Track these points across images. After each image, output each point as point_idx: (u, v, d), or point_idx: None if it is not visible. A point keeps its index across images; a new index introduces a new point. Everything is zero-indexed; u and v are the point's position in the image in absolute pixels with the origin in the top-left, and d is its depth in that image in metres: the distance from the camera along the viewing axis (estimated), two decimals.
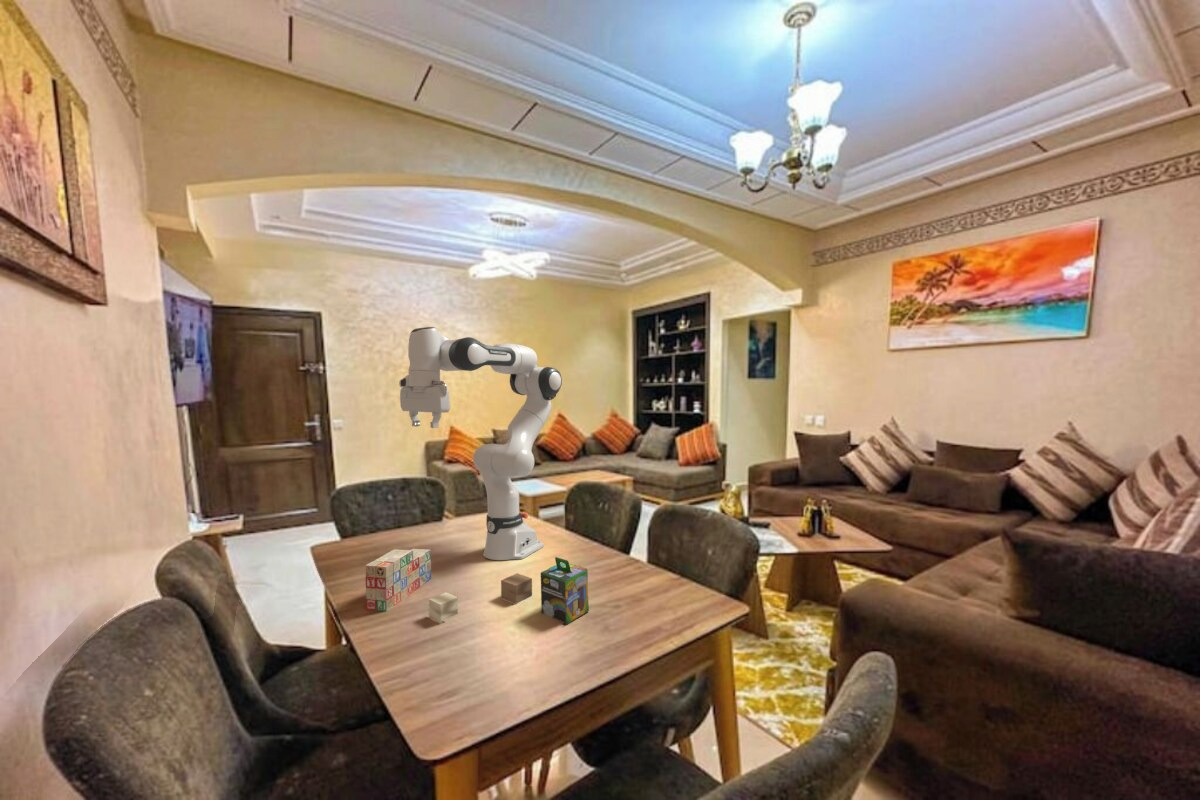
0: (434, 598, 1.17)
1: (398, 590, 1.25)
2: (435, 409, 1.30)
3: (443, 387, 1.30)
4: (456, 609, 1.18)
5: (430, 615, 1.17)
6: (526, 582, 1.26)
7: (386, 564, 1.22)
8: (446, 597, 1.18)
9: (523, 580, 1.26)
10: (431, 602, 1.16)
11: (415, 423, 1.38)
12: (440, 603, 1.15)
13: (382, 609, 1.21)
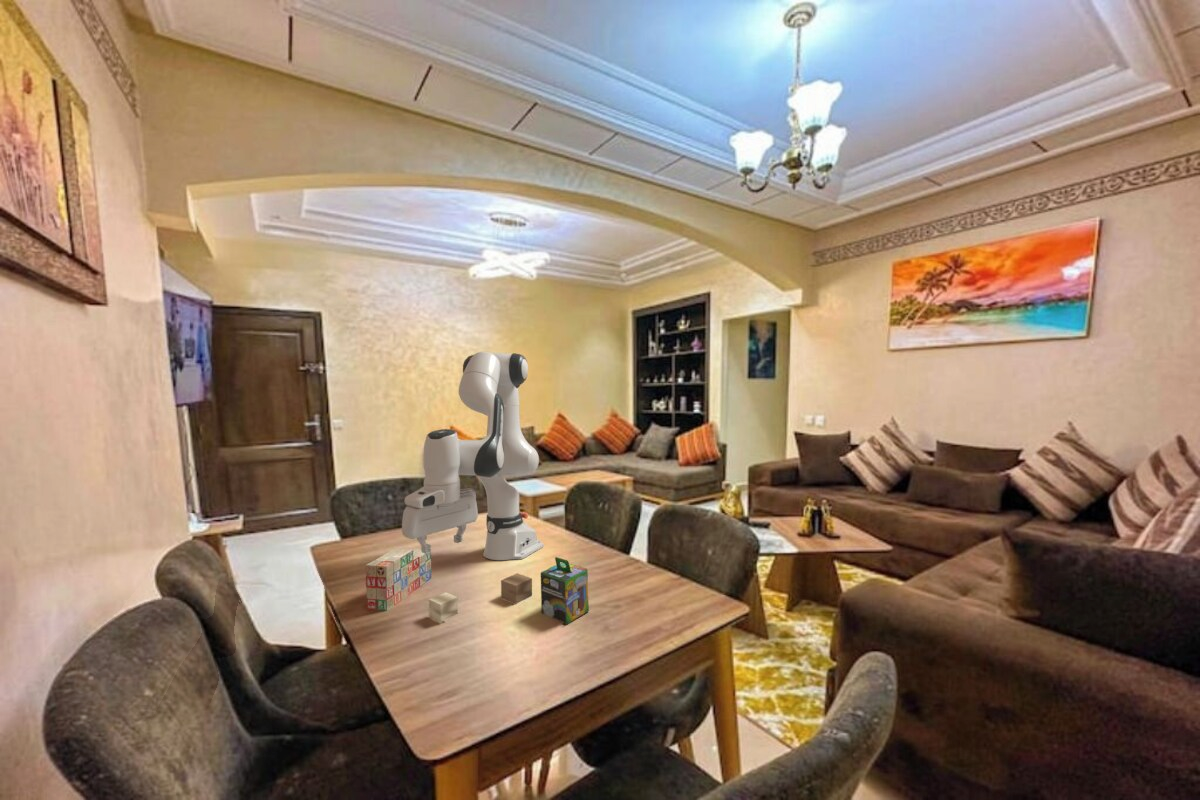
0: (433, 598, 1.17)
1: (399, 589, 1.26)
2: (472, 519, 1.22)
3: (474, 494, 1.24)
4: (456, 609, 1.18)
5: (430, 615, 1.17)
6: (526, 582, 1.26)
7: (386, 564, 1.22)
8: (446, 597, 1.18)
9: (523, 580, 1.26)
10: (431, 602, 1.16)
11: None
12: (440, 603, 1.14)
13: (382, 608, 1.21)
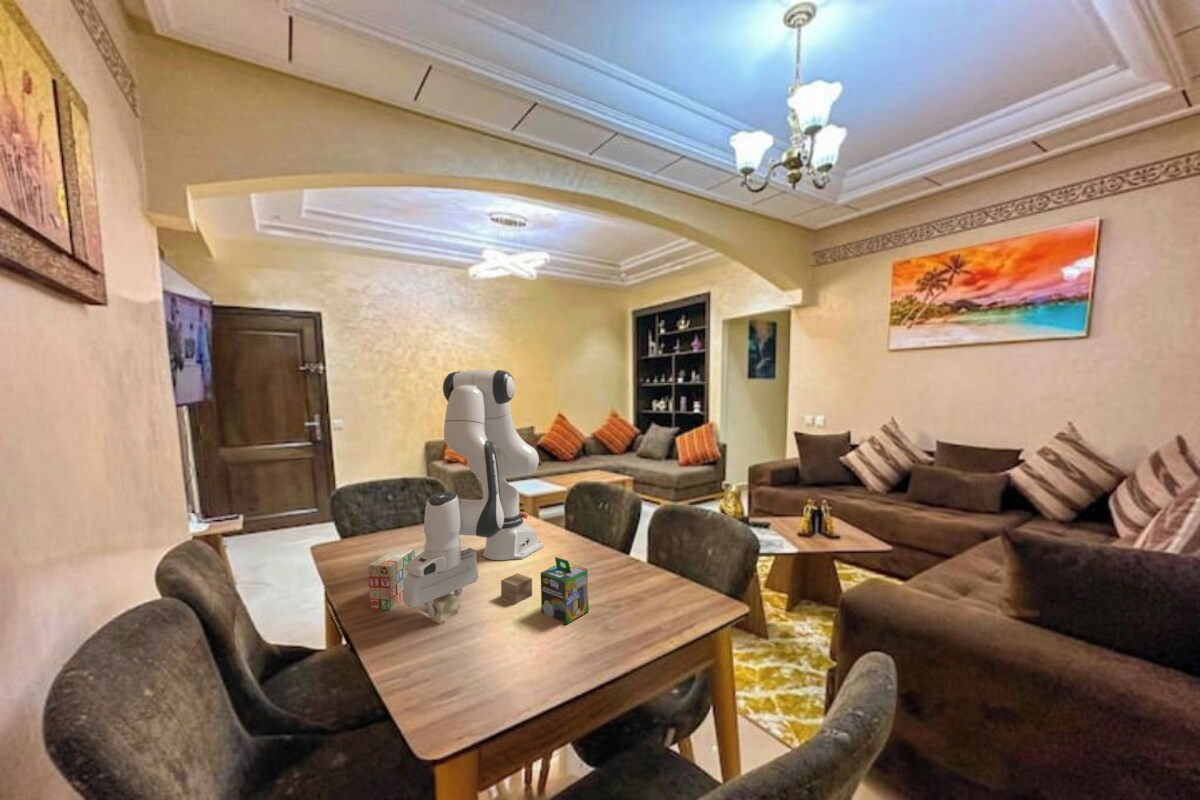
0: None
1: (401, 589, 1.26)
2: (472, 580, 1.23)
3: (474, 554, 1.25)
4: (456, 609, 1.18)
5: None
6: (526, 582, 1.26)
7: (390, 563, 1.23)
8: (446, 596, 1.18)
9: (523, 580, 1.26)
10: None
11: None
12: (440, 603, 1.14)
13: (386, 608, 1.21)
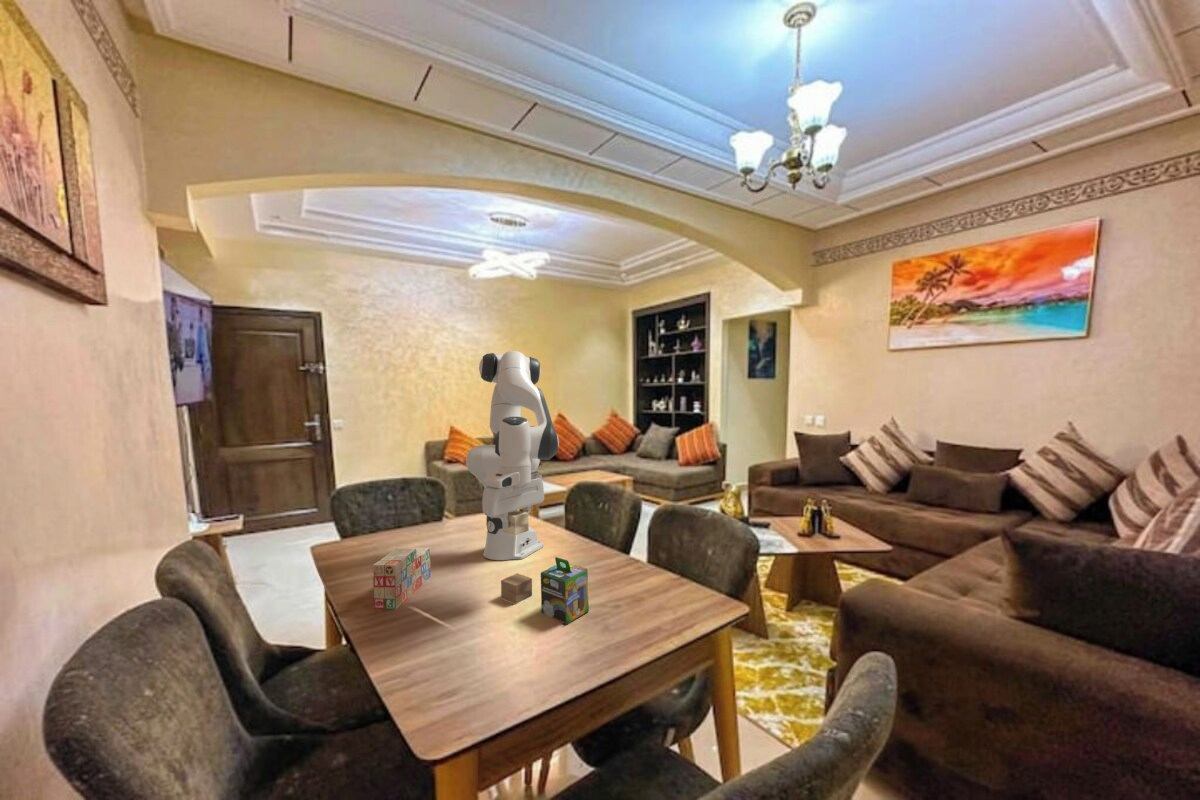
0: None
1: (405, 588, 1.27)
2: (539, 500, 1.32)
3: (540, 477, 1.34)
4: (527, 524, 1.27)
5: (503, 529, 1.26)
6: (526, 582, 1.26)
7: (394, 562, 1.23)
8: (518, 512, 1.27)
9: (523, 580, 1.26)
10: None
11: None
12: (514, 516, 1.24)
13: (391, 607, 1.22)
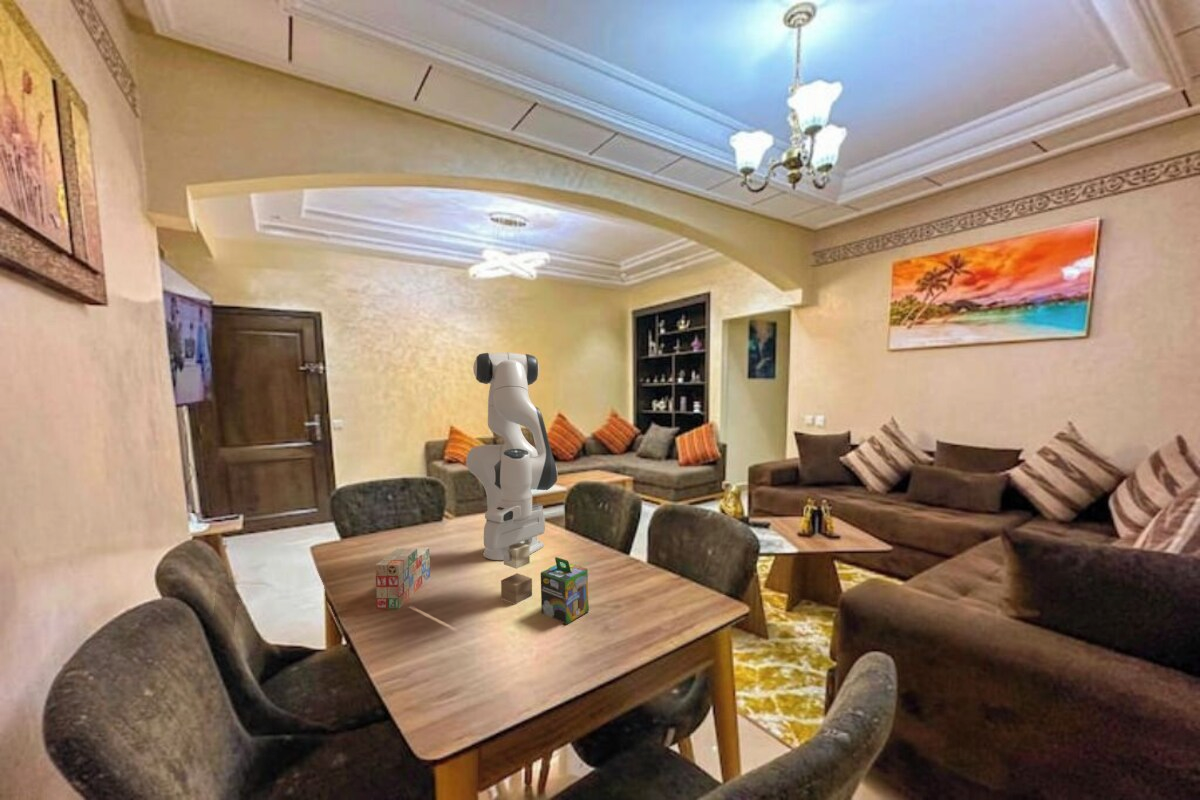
0: None
1: (407, 587, 1.27)
2: (540, 531, 1.32)
3: (541, 508, 1.34)
4: (528, 556, 1.27)
5: None
6: (526, 582, 1.26)
7: (397, 562, 1.23)
8: (519, 545, 1.27)
9: (523, 580, 1.26)
10: None
11: None
12: (515, 549, 1.24)
13: (394, 607, 1.22)
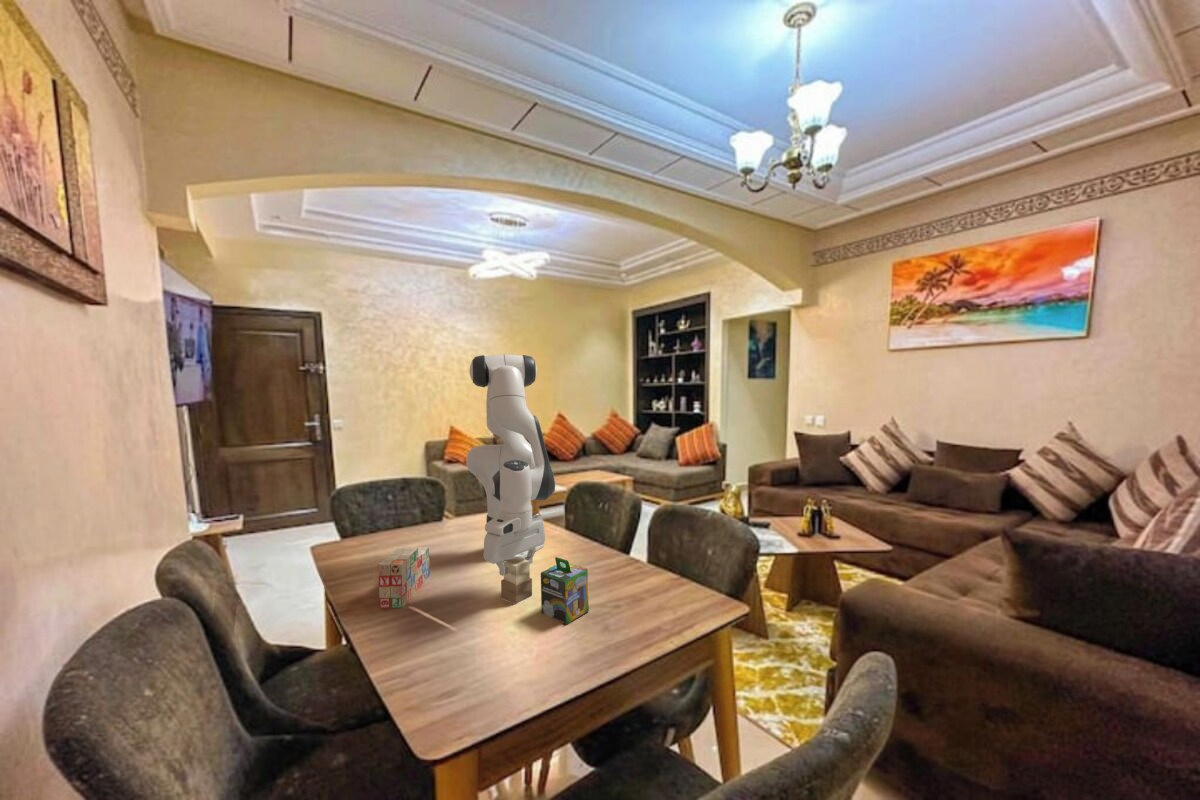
0: (507, 561, 1.27)
1: (409, 587, 1.27)
2: (540, 542, 1.32)
3: (541, 518, 1.34)
4: (528, 571, 1.27)
5: (505, 577, 1.26)
6: (526, 582, 1.26)
7: (400, 562, 1.24)
8: (519, 560, 1.28)
9: None
10: (506, 564, 1.26)
11: None
12: (515, 565, 1.24)
13: (397, 606, 1.22)
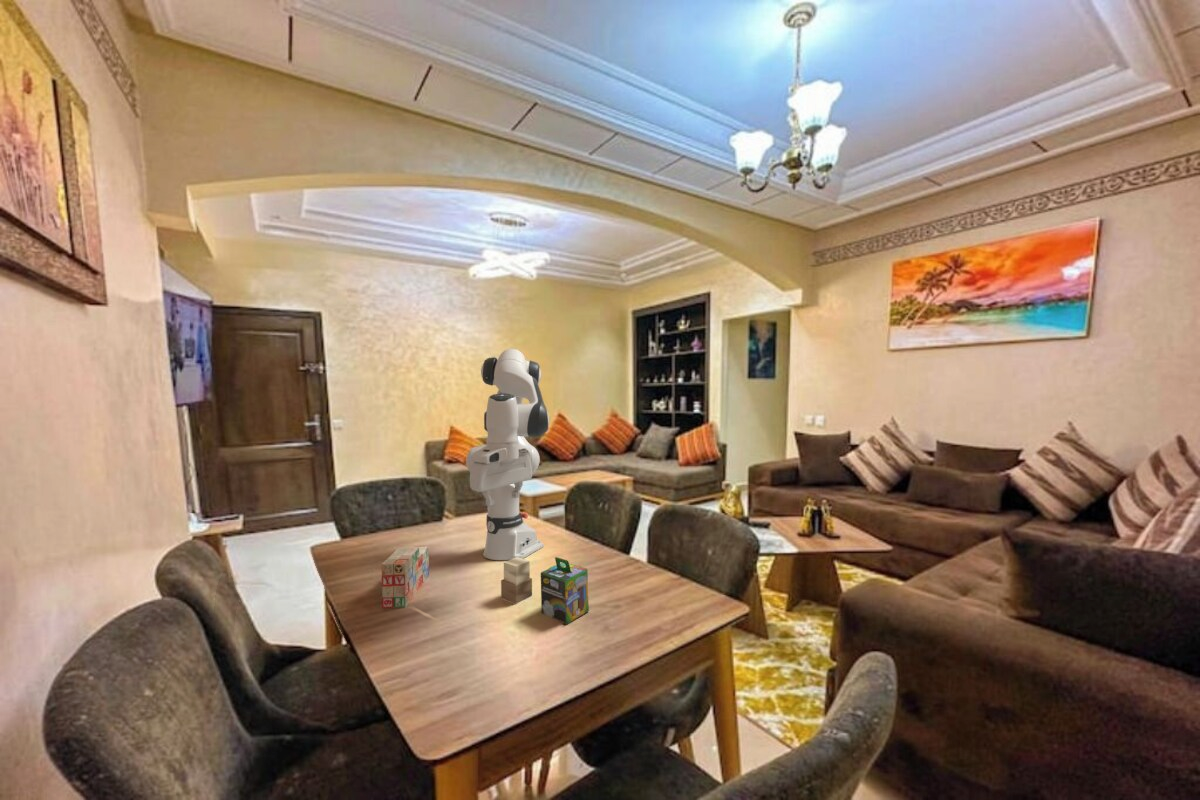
0: (507, 561, 1.27)
1: (412, 586, 1.28)
2: (527, 477, 1.32)
3: (528, 454, 1.34)
4: (528, 571, 1.27)
5: (505, 577, 1.26)
6: (526, 582, 1.26)
7: (403, 561, 1.24)
8: (519, 560, 1.28)
9: None
10: (506, 564, 1.26)
11: None
12: (515, 565, 1.24)
13: (400, 605, 1.23)
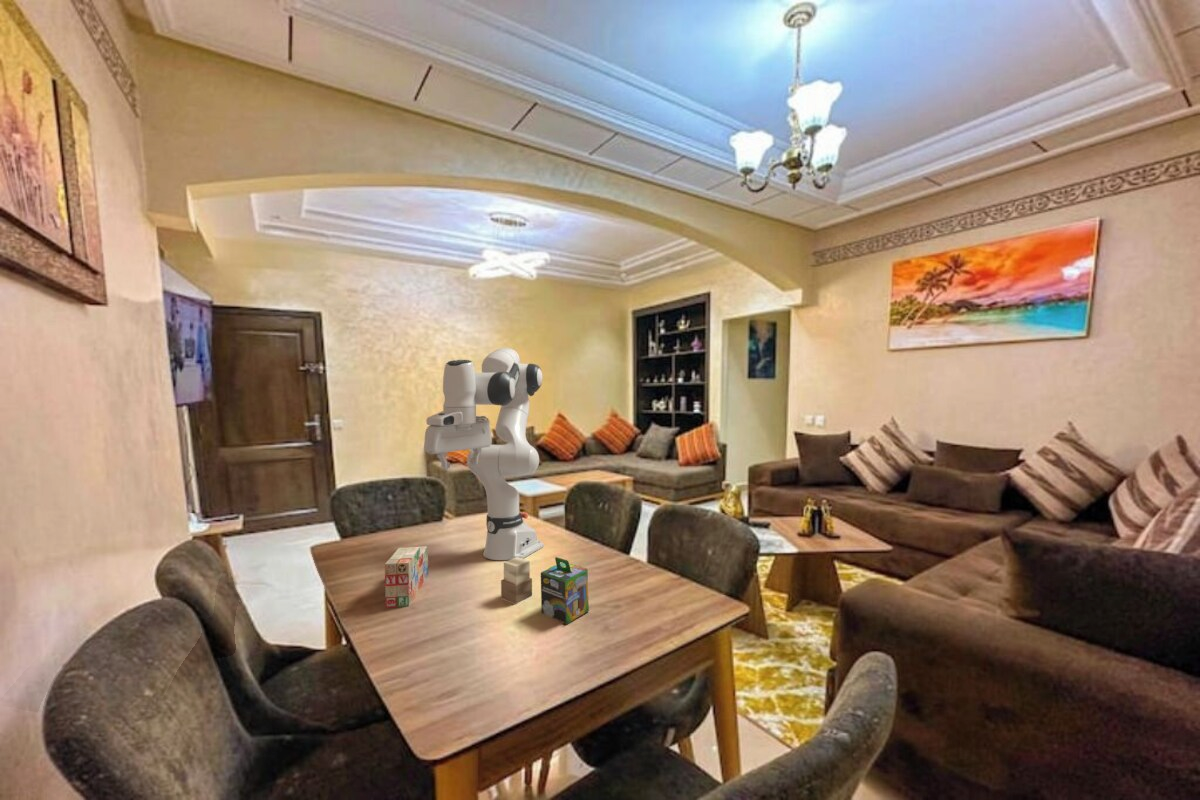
0: (507, 561, 1.27)
1: (414, 585, 1.28)
2: (486, 444, 1.33)
3: (488, 422, 1.35)
4: (528, 571, 1.27)
5: (505, 577, 1.26)
6: (526, 582, 1.26)
7: (406, 560, 1.25)
8: (519, 560, 1.28)
9: None
10: (506, 564, 1.26)
11: None
12: (515, 565, 1.24)
13: (404, 604, 1.23)
